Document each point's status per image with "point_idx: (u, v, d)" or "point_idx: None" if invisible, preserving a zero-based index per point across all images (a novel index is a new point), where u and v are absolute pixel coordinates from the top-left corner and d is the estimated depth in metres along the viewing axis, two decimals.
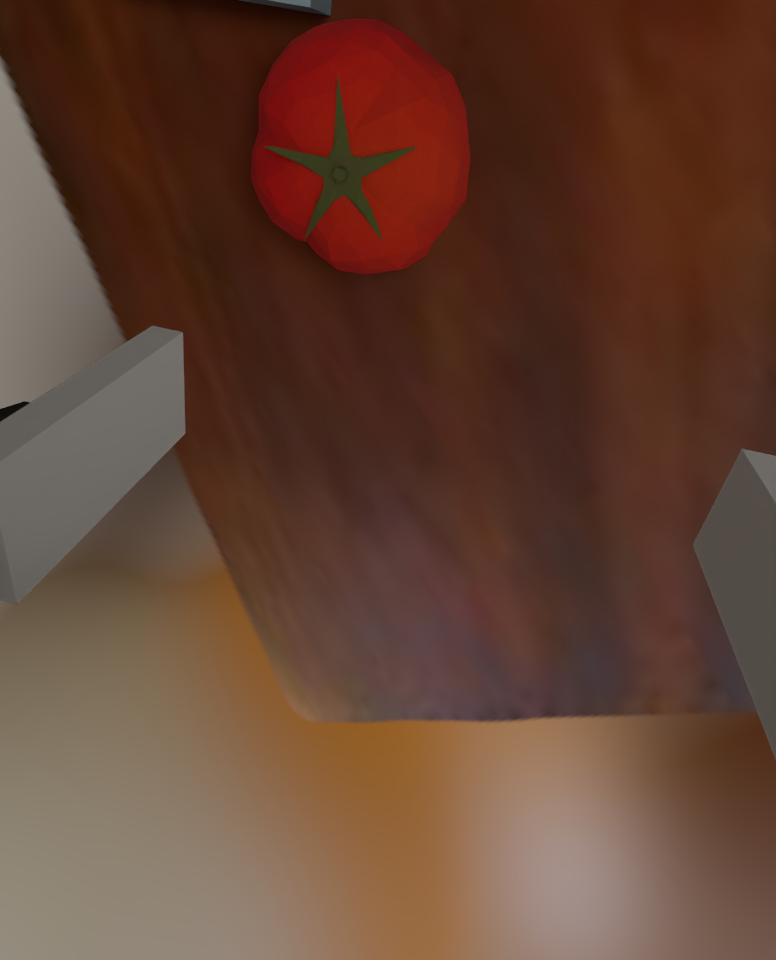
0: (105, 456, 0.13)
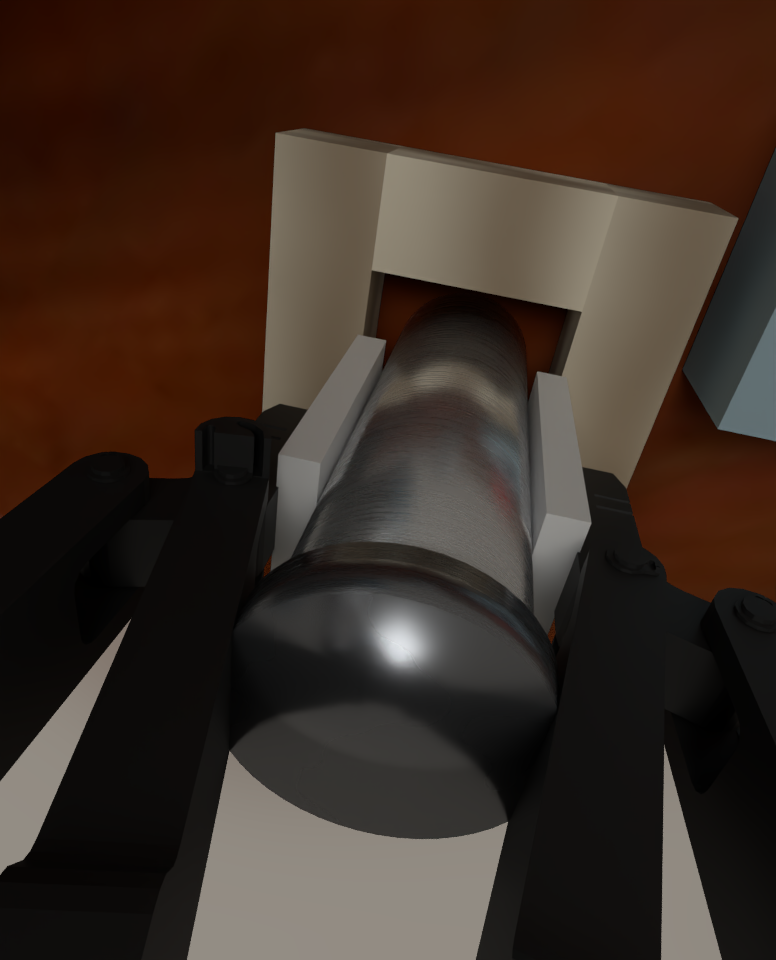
0: None
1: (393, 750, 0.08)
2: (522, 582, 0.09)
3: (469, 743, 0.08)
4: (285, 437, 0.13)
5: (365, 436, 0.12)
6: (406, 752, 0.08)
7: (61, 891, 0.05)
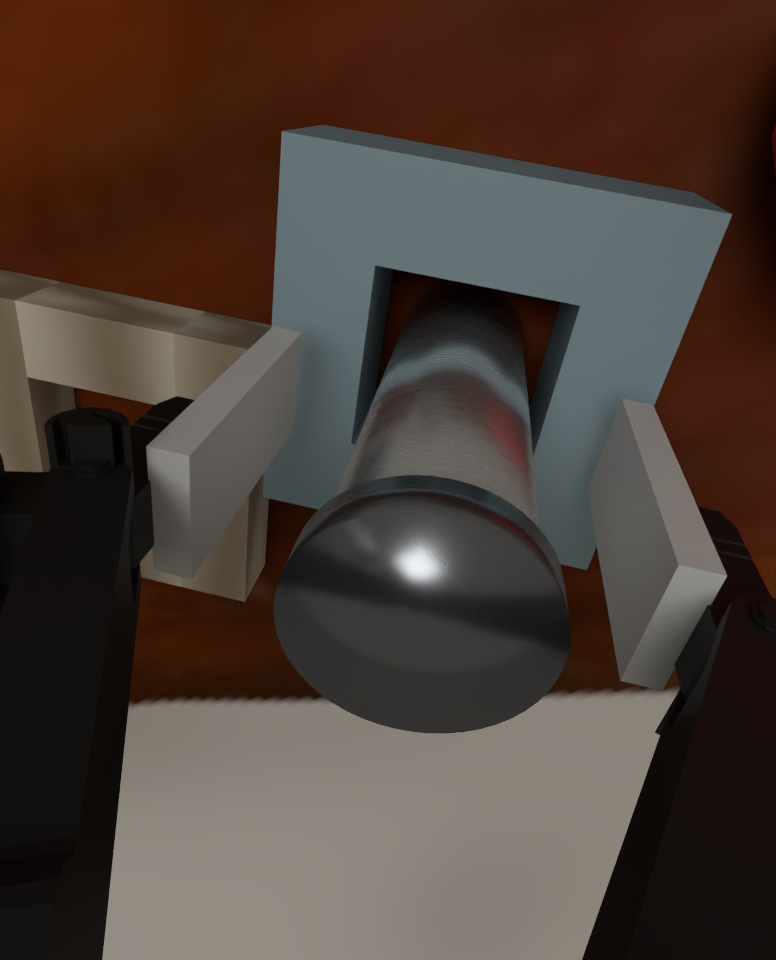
0: (250, 446, 0.14)
1: (429, 651, 0.10)
2: (532, 515, 0.11)
3: (493, 640, 0.10)
4: None
5: (389, 401, 0.14)
6: (440, 652, 0.10)
7: None
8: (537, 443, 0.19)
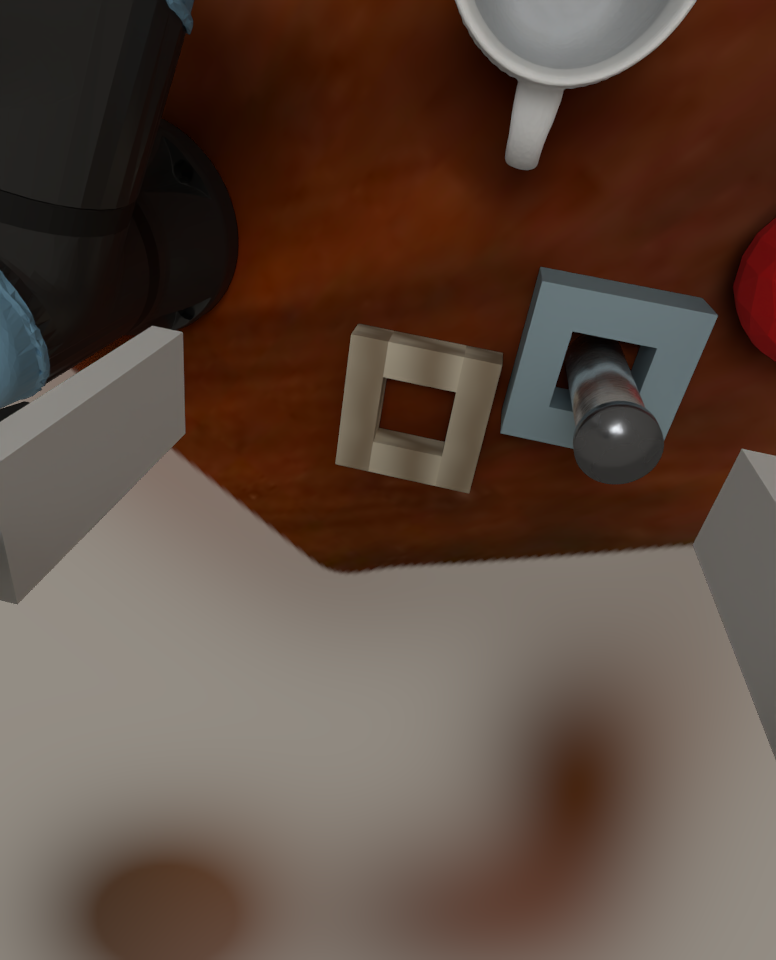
0: (105, 456, 0.13)
1: (621, 452, 0.35)
2: None
3: (640, 448, 0.34)
4: None
5: (591, 383, 0.38)
6: (624, 453, 0.35)
7: None
8: None
